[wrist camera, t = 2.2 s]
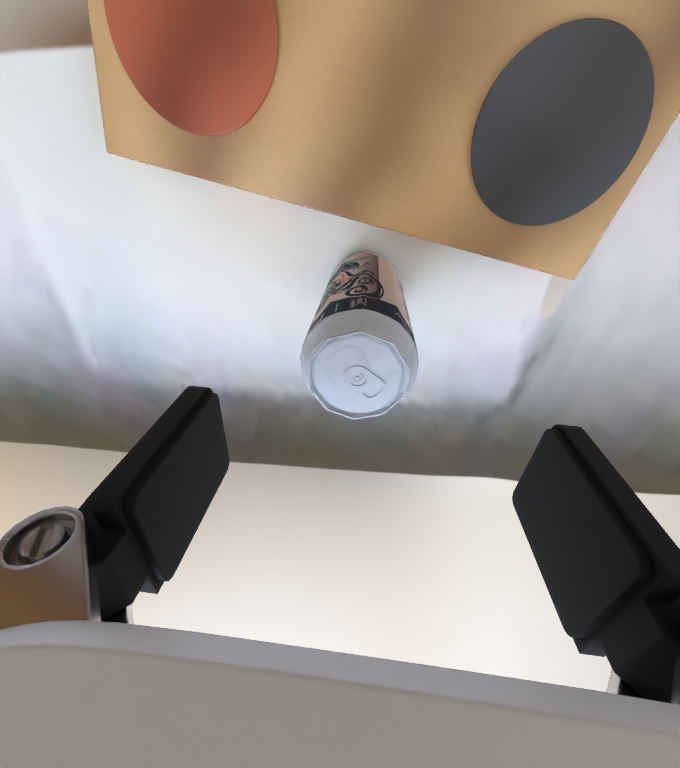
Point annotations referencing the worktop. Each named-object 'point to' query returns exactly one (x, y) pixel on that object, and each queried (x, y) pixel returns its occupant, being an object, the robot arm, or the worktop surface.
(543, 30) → the board
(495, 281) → the worktop surface
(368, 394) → the beer can
